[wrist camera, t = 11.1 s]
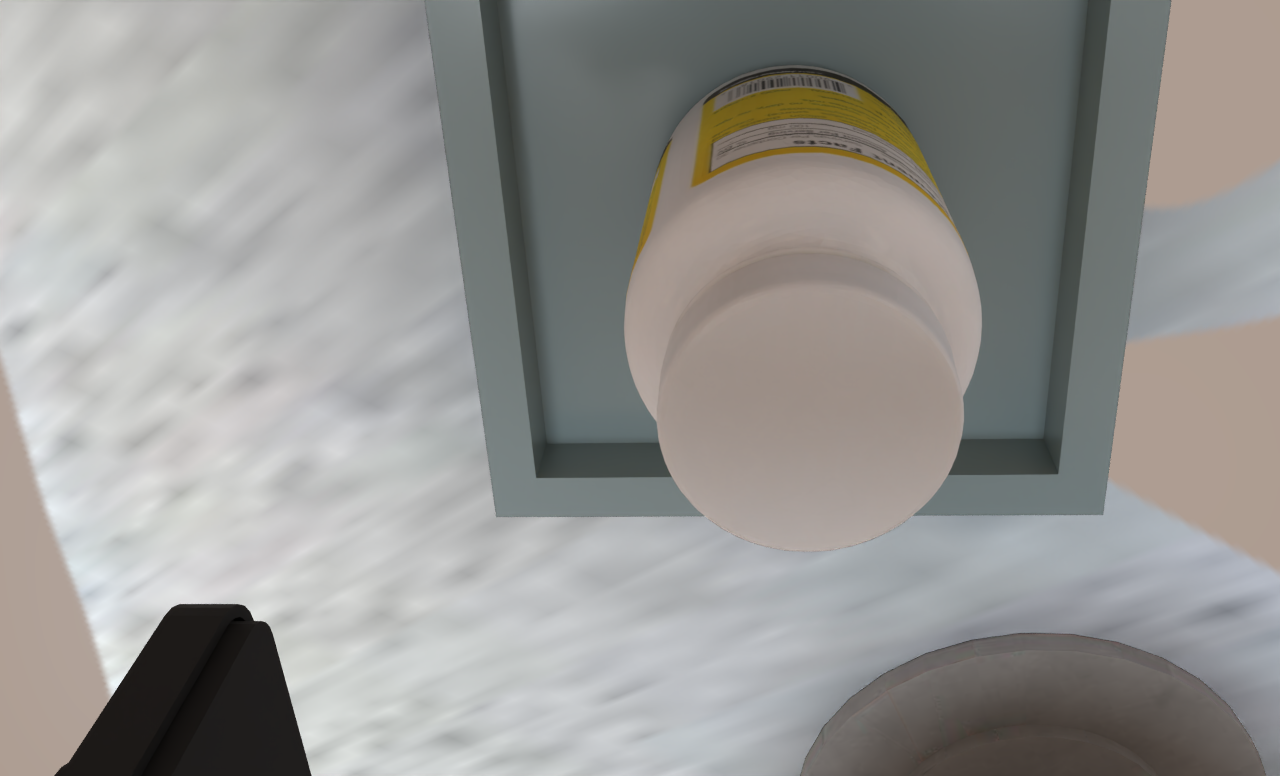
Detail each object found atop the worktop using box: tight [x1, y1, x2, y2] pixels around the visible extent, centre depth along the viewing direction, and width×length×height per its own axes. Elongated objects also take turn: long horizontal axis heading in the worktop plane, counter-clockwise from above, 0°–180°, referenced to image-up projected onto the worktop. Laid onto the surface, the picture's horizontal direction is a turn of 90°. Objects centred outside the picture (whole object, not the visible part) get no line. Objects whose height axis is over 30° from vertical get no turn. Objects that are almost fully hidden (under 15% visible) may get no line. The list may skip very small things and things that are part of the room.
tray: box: [424, 0, 1171, 517], centre depth 24 cm, size 13×13×2 cm
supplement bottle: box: [624, 65, 982, 551], centre depth 20 cm, size 5×5×10 cm
